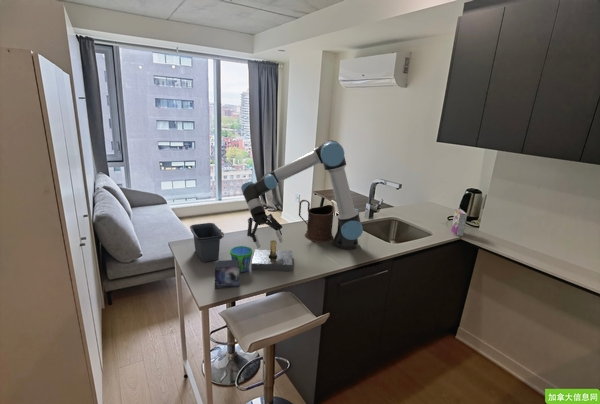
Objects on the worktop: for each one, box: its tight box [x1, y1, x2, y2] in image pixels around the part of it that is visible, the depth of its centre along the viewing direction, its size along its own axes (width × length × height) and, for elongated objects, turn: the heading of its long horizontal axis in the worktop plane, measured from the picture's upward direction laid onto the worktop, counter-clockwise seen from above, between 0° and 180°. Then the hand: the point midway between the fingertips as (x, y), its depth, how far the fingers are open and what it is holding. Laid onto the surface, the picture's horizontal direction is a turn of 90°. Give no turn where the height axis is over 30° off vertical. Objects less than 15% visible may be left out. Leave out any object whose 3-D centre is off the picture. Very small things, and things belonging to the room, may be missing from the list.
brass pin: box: [269, 239, 277, 259], centre depth 156 cm, size 3×3×12 cm
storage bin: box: [189, 222, 225, 263], centre depth 160 cm, size 21×16×14 cm
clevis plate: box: [250, 248, 293, 272], centre depth 157 cm, size 20×16×4 cm
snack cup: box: [229, 245, 253, 274], centre depth 148 cm, size 16×10×10 cm
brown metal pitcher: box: [298, 199, 335, 243], centre depth 192 cm, size 18×24×25 cm
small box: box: [214, 259, 240, 290], centre depth 134 cm, size 11×6×10 cm, turn 105°
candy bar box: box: [451, 208, 468, 237], centre depth 215 cm, size 11×5×16 cm, turn 171°
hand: (270, 244), depth 156 cm, fingers open, 13 cm apart
